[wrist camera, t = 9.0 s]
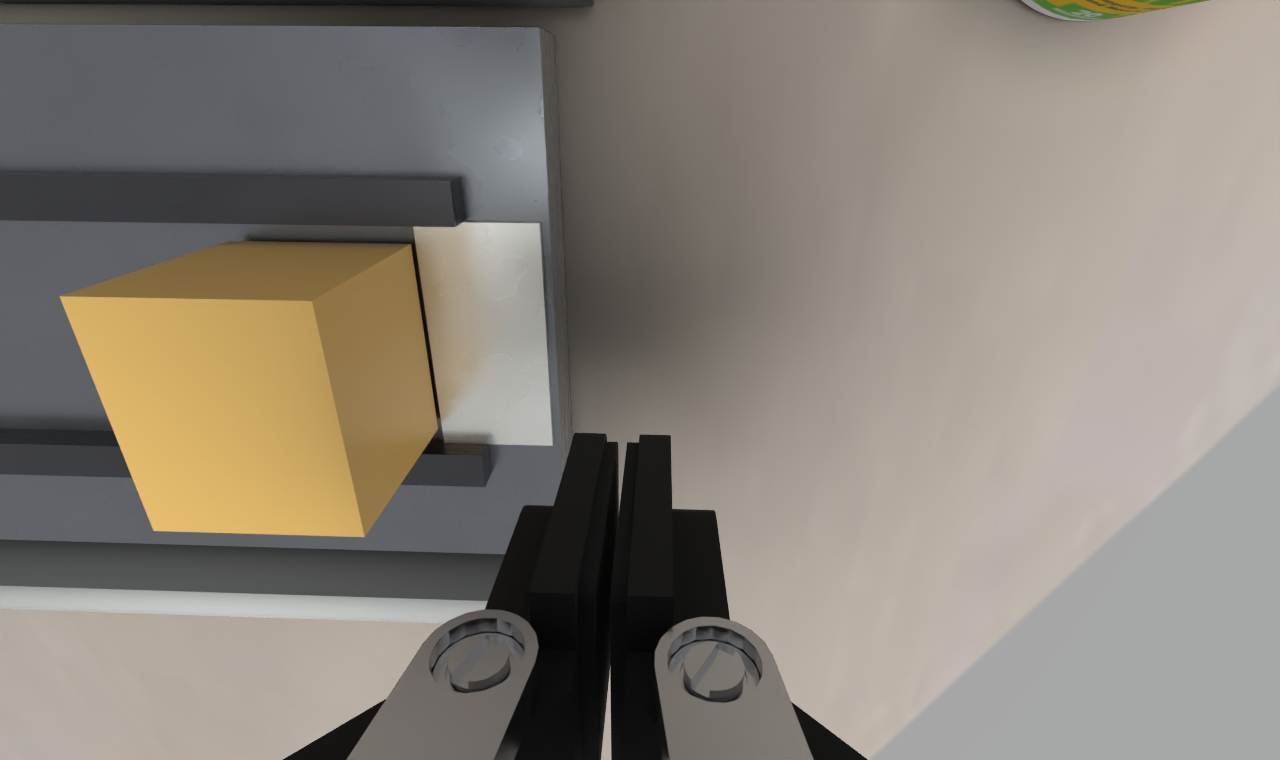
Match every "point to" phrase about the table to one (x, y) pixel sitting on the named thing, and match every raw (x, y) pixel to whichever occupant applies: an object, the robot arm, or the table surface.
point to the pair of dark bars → (251, 573)
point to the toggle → (263, 383)
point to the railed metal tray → (287, 212)
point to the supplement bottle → (1100, 8)
